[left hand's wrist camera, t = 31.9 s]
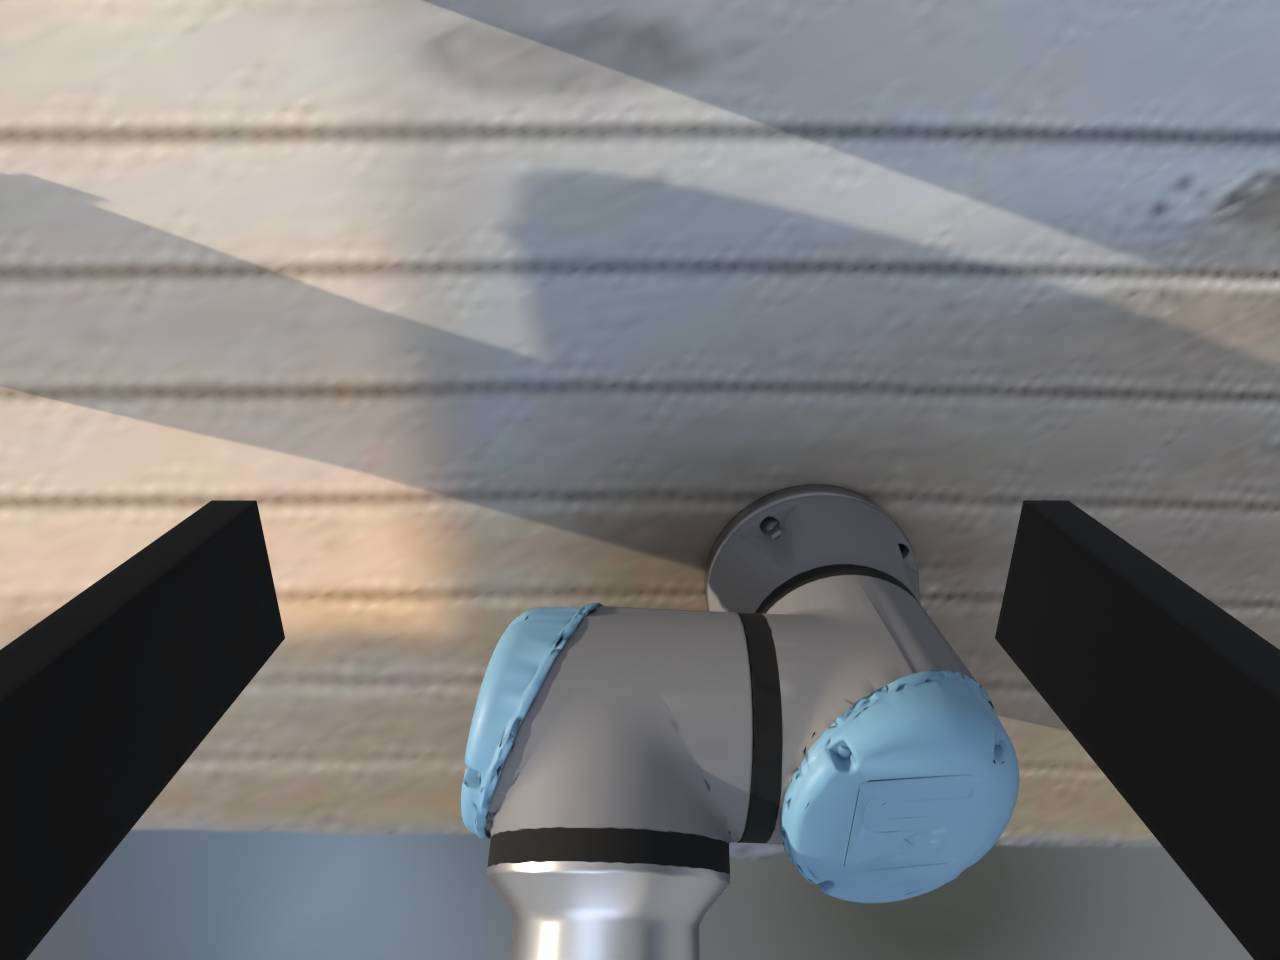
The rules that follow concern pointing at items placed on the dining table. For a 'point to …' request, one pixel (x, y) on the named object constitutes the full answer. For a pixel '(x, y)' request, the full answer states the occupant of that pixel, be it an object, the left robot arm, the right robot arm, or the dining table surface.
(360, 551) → the dining table surface
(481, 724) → the left robot arm
